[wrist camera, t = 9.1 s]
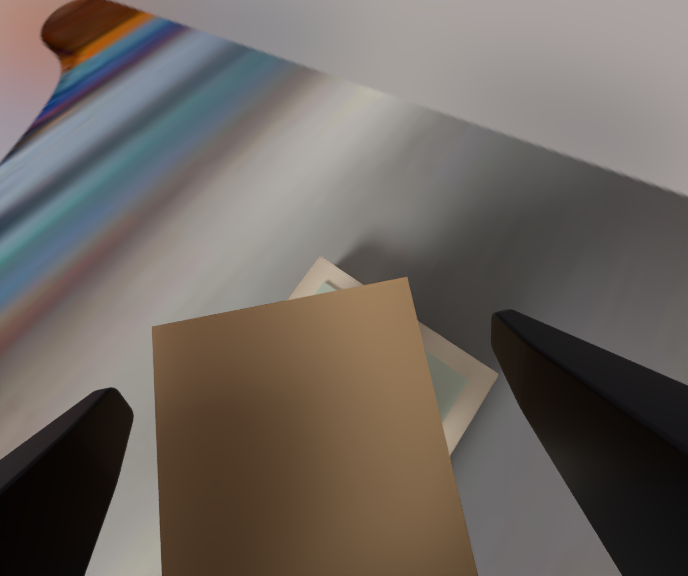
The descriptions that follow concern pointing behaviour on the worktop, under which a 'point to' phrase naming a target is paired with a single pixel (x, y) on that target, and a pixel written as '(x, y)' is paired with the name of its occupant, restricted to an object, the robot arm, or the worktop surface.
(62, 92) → the worktop surface
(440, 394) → the plinth
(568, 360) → the robot arm
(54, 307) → the worktop surface
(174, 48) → the worktop surface
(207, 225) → the worktop surface
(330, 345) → the oak block
